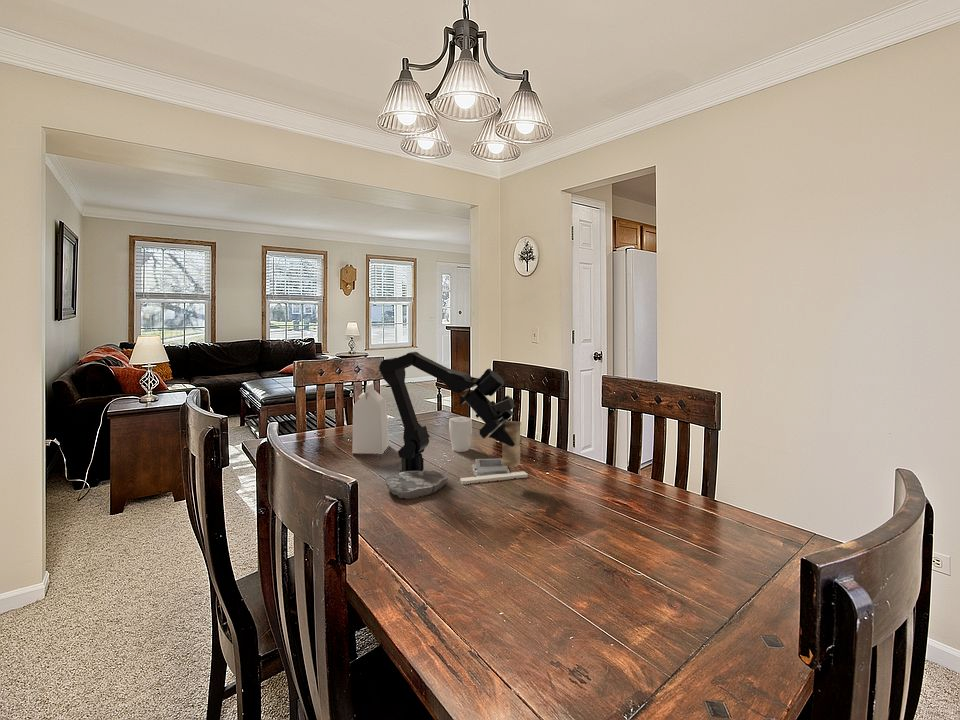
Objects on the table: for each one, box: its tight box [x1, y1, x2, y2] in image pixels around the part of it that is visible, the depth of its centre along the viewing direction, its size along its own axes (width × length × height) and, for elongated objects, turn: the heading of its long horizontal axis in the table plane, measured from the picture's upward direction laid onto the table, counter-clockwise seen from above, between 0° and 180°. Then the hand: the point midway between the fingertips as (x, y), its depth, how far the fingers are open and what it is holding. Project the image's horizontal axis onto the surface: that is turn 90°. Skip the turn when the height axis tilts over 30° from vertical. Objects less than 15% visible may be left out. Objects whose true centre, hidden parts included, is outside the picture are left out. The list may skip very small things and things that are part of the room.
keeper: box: [471, 457, 511, 477], centre depth 166 cm, size 12×11×3 cm
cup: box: [448, 416, 473, 453], centre depth 190 cm, size 9×9×12 cm
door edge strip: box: [459, 471, 529, 485], centre depth 157 cm, size 22×3×1 cm, turn 107°
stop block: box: [501, 420, 522, 468], centre depth 151 cm, size 5×5×13 cm
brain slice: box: [384, 470, 449, 500], centre depth 149 cm, size 20×17×3 cm
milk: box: [351, 382, 390, 455], centre depth 189 cm, size 12×12×26 cm
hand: (515, 443), depth 150 cm, fingers closed on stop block, 4 cm apart
